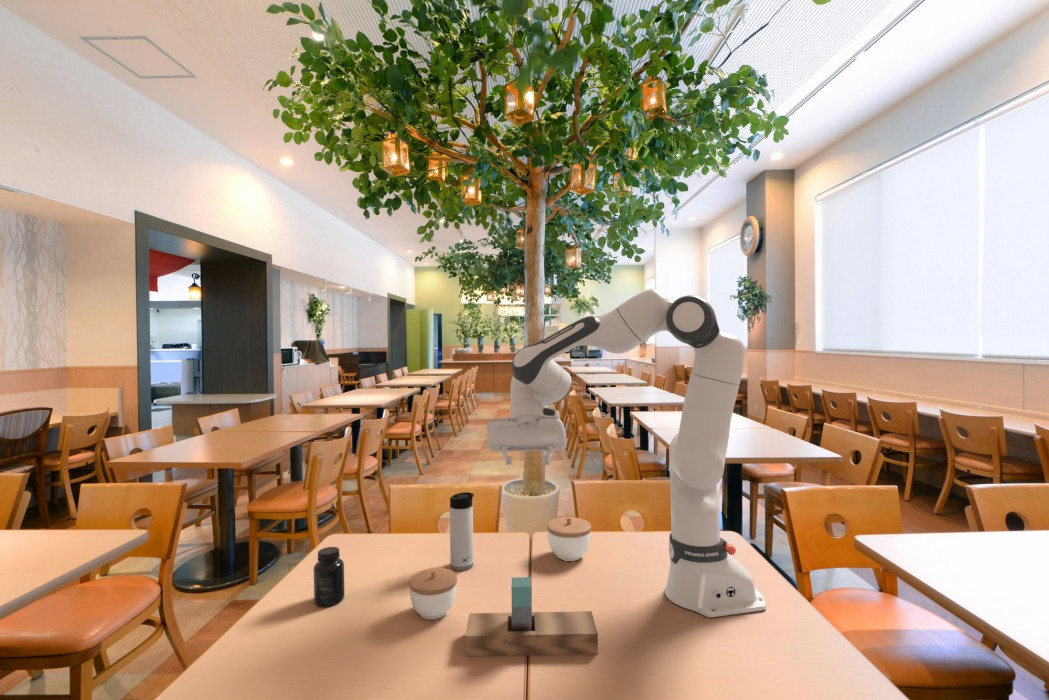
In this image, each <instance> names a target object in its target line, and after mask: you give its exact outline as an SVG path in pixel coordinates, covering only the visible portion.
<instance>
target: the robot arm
mask: <svg viewBox="0 0 1049 700" xmlns="http://www.w3.org/2000/svg"><path fill="white" fill-rule="evenodd" d="M660 332H669V333H670V334H672V336H673V337H674V338H675V340H678V341H679V342H681V343H683V344H686V345H689V346H690V347H691V348H693V350H694V360H693V365H692V369H691V371H690V372H691V373H690V377H689V379H688V385H687V387H686V392H685V397H684V399H683V405H682V411H681V418H680V422H679V423H680V424H679V429H678V433H677V434H675V436H674V437H673V438H672V439H671V441H670V444H669V449H668V454H669V455H668V456H669V457H668V458H669V461H668V462H669V463H668V464H669V486H670V487H669V489H670V490H669V491H670V511H671V512H670V515H671V516H670V517H671V518H670V524H671V525H670V526H671V527H670V529H671V530H670V531H671V532H670V534H669V541H668V554H669V559H670V562H669V569H668V575H667V580H666V584H665V588H664V595H665V596H666V597H667V599H668V600H669V601H670V602H671V603H673V604H675V605H677V606H680V607H681V608H684V609H686V610H687V609H688V610H691V611H694V612H697V613H699V614H700V615H701V616H705V617H707V618H716V617H717V618H718V617H725V616H730V615H731V616H732V615H739V614H745V613H753V612H759V611H765V610H766V609H767V602H766V599H765V597H764V595H763V594H762V593H761V591H759V589H757V587H755V583H754V579H753V578H752V575H751V573H750V572H749V570H747V569H746V568H745V567H744V566H743V565H742V564H741V563H740V562H739V561H738V560H736V559H735V558H733V557H732V556H734V555H735V554H736V553H737V550H736V549H737V548H736V547H735V546H733V544H731V543H728V541H727V540H726V539H724V538H722V537H721V536H720V535H721V533H720V532H721V527H720V526H721V517H720V516H721V514H720V513H721V512H720V511H721V508H720V501H719V499H720V498H719V492H718V491H719V490H718V484H719V483H720V482H721V480H722V479H723V476H724V471H725V463H726V458H727V451H728V447H729V438H730V428H731V422H732V416H733V412H734V410H735V409H734V408H735V404H736V400H737V396H738V393H739V388H740V384H741V382H742V375H743V372H744V371H743V370H744V364H745V363H744V362H745V345H744V343H743V341H742V340H741V339H740V338H738V337H737V336H736V335H733V334H731V333H727V332H724V331H721V330H720V327H719V324H718V321H717V314H716V311H715V310H714V307H713V306H712V305H711V304H710V303H709V302H708V301H707V300H706V299H704V298H703V297H701V296H698V295H691V294H690V295H689V294H688V295H684V296H681V297H678V298H677V299H675V300H674V301H672V300H670V299H669V298H668V297H667V296H666V295H665V294H664V293H663V292H662V291H660V290H658V289H655V288H649V289H645V290H644V291H642V292H638V293H637V294H636V295H634V296H632V297H630V298H629V299H627V300H625V301H624V302H622V303H621V304H619V305H617V307H616V308H614V309H612V310H611V311H609V312H607V313H603V314H600V315H596V316H592V315H589V316H585V317H582V318H579V319H578V320H576V321H575V322H572V323H571V324H568V325H567V326H565V327H562V328H561V329H560V330H557V331H556V332H554V333H552V334H551V335H549V336H547V337H546V338H543V339H541V340H539V341H538V342H535V343H532V344H529V345H527V346H524V347H523V348H521V349H520V350H518V351H517V352H516V353H515V355H513V359H512V362H511V371H512V377H511V382H510V387H509V388H510V390H509V391H510V393H509V396H510V401H511V404H510V406H509V417H503V418H498V417H496V418H492V419H491V420H489V421H488V423H487V424H486V425H487V426H486V430H487V432H488V434H487V435H488V436H487V448H488V450H489V451H490V452H501V455H502V457H503V459H504V460H505V466H512V455H508V452H531V451H532V452H546V451H547V454H546V455H543V457H542V459H543V460H542V461H543V465H544V466H549V465H550V460H551V458H552V456H553V454H554V451H557V452H558V451H561V452H562V451H564V450H565V449H566V448H567V443H568V442H567V441H568V440H567V432H566V429H565V425H564V423H563V422H562V420H561V417H560V416H561V415H560V412H559V410H557V409H553V408H550V407H546V406H550V405H552V404H555V403H558V402H561V401H562V400H564V399H565V398H566V397H567V396H568V395H569V393H570V391H571V389H572V386H573V385H572V384H573V379H572V376H571V374H570V373H569V372H568V371H567V370H566V369H565V368H563V367H562V366H561V365H560V364H559V363H557V362H556V361H555V360H554V359H556V358H557V357H559V356H561V355H563V354H565V353H566V352H568V351H570V350H572V349H574V348H577V347H581V346H588V347H592V348H596V349H600V350H603V351H605V352H608V353H611V354H624V353H628V352H629V351H632V350H633V349H635V348H637V347H638V346H640V345H641V344H642V343H644V342H645V341H647V340H648V339H650V338H651V337H653V336H654V335H656V334H658V333H660Z"/></svg>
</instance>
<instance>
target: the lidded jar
mask: <svg viewBox="0 0 1049 700" xmlns="http://www.w3.org/2000/svg"><path fill="white" fill-rule="evenodd" d="M457 583H458V577H457V574H456V572H455V571H453V570H451V569H449V568H443V567H434V568H433V567H431V568H427V569H422V570H420V571H417V572H416V573H415V574H413V575H412V576H411V577H410V578H409V583H408V584H409V586H408V587H409V596H410V601H411V605H412V607H413V609H414V610H415V611H416V613H417V614H419V615H420V617H421V618H422V619H425V620H430V621H432V620H438V619H441V618H443V617H444V616H445V615H447V613H448V611H449V610H450V609H451V608H452V606H453V604H454V602H455V600H456V596H457V586H458V585H457Z"/></svg>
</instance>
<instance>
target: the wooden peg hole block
mask: <svg viewBox="0 0 1049 700" xmlns="http://www.w3.org/2000/svg"><path fill="white" fill-rule="evenodd" d="M598 635H599V634H598V629H597V626H596V623H595V619H594V614H593V611H591V610H589V611H586V610H585V611H579V610H578V611H539V612H538V611H535V612H534V611H533V612H532V631H512V612H474V613H472V612H471V613H468V619H467V624H466V630H465V637H464V641H465V657H488V656H489V657H493V656H494V657H499V656H503V657H504V656H545V655H546V656H547V655H549V656H550V655H551V656H552V655H556V656H557V655H598V654H599V644H598V643H599V642H598V641H599V636H598Z"/></svg>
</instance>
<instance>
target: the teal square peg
mask: <svg viewBox="0 0 1049 700" xmlns="http://www.w3.org/2000/svg"><path fill="white" fill-rule="evenodd" d="M532 596H533V595H532V577H531V576H528V577H524V576H519V577H517V576H516V577H513V576H512V577H511V613H512V631H532V610H533V609H532V608H533V607H532V604H533V603H532V602H533V600H532V599H533V597H532Z"/></svg>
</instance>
